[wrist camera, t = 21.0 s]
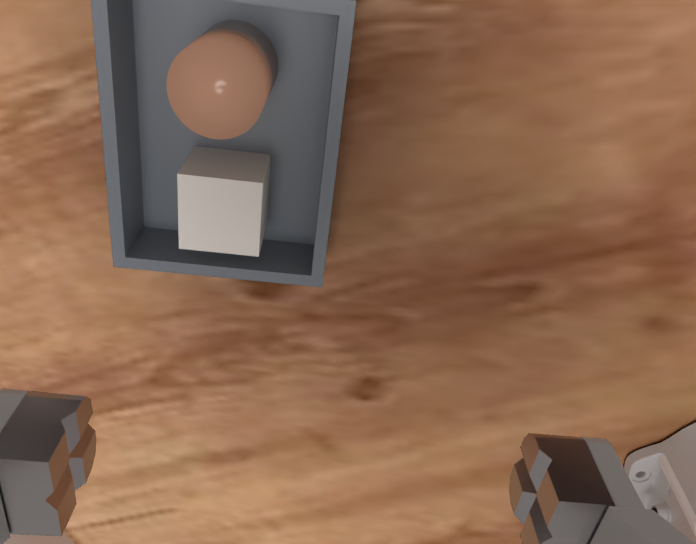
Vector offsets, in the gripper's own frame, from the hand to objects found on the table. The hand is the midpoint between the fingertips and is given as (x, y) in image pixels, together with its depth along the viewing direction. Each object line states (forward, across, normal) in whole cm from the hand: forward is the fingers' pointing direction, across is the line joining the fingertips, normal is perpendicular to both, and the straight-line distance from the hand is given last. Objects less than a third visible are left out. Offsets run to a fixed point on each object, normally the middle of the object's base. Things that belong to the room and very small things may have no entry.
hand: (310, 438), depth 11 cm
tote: (+31, +6, +4) cm, 32 cm away
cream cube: (+30, +6, +8) cm, 32 cm away
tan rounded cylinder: (+30, +6, 0) cm, 31 cm away
